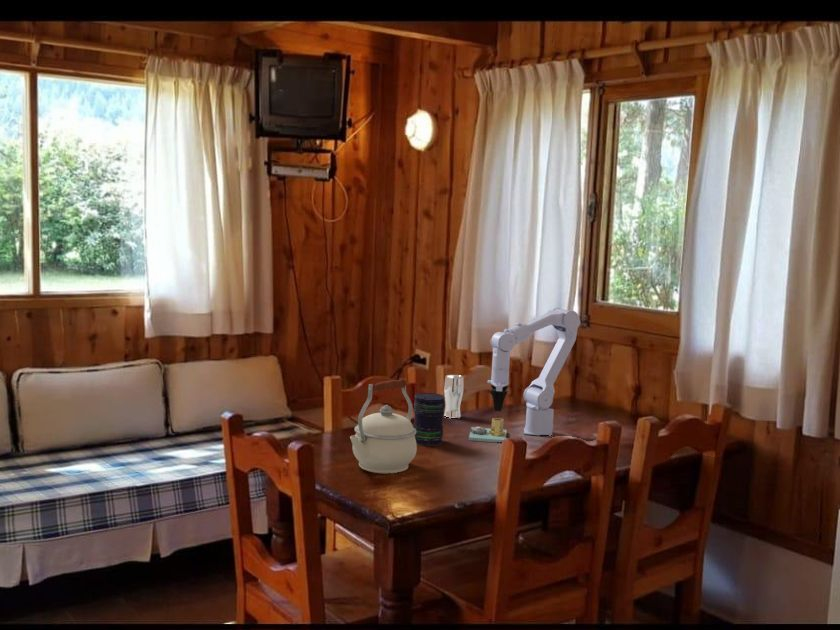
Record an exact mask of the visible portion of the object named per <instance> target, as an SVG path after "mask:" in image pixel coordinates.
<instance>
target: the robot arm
mask: <svg viewBox="0 0 840 630" xmlns="http://www.w3.org/2000/svg"><path fill="white" fill-rule="evenodd" d="M580 325H581V319H580V317H579V314H578V313H577V312H576V311H575V310H568V309H563V308H560V307H555V308H553V309H550V310H547V312H545V313H544V314H542V315H540V316H538V317H537V318H535V319H533V320H531V321H529V322H528V323H524V322H516V323H515V325H514V326H511V327H510V328H505V329H503V332H502V331H497V332H494V334H493V335H492V337H491V339H489V343H490V344H489V345H491V348H492V362H491V377H490V379H488V380H487V384H491V386H490V387H491V388H490V393H491V397H492V401H493V408H494V412H502V410H503V405H504V401H505V398H506V397H507V394H508V393H509V391H508V390H507V389H508V388H509V384H510V381H509V378H510V377H509V376H510V375H509V374H510V361H511V360H510V359H511V351H512V350H513V349H514V347H515V345H517V344H520V343H522V342H524V341H526V340H528V339H530V338H531V334H533V333H534V332H537V331H539V330H542V329H544V328H547V327H549V326H552V327H553V329H554V330H555V332H556V333H557V337H558V339H557V341H556V343H555V345H554V347H553V349H552V351H551V352H550V355H549V357H548V358H547V361H546V362H545V364H544V367H543V368H542V369H541V371H540V374H539V376H538V377H537V378H535V379H534V380H532V381H531V383H530V385H529V386H528V387H526V388H525V389H524V392H523V400H524V402H526V403H525V405H526V411H525V412H526V415H525V425H524V426H525V427H523V434H524V435H529V436H531V435H532V436H540V435H549V436H548V437H552V436H553V431H554V414H555V413H554V411H555V410H554V409H553V408H550V407H552V404H553V401H554V395H555V393H556V389H555V387H554V385H555V382H556V379H557V378H558V376H559V374H560V372H561V370H562V368H563V367H564V364H565V362H566V360H567V358H568V356H569V354H570V352H571V351H572V348H573V347H574V344H575V342H576V340H577V334H578V329H579V326H580ZM550 434H551V435H552V436H551V435H550Z"/></svg>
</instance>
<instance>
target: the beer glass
mask: <svg viewBox="0 0 840 630" xmlns="http://www.w3.org/2000/svg"><path fill="white" fill-rule="evenodd" d="M444 378H445V379H444V387H443V388H444V389H443V391H444V396H445V400H444V401H445V403H444V405H445V408H444V414H443V417H444V416H446V417H449V418H448V419H451V418H458V419H460V418H461V416H462V415H461V402H462V399H463V393H464V387H465V386H464V385H465V384H464V376H463V375H459V374H447V375H445V377H444ZM446 417H445V418H446Z"/></svg>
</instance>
